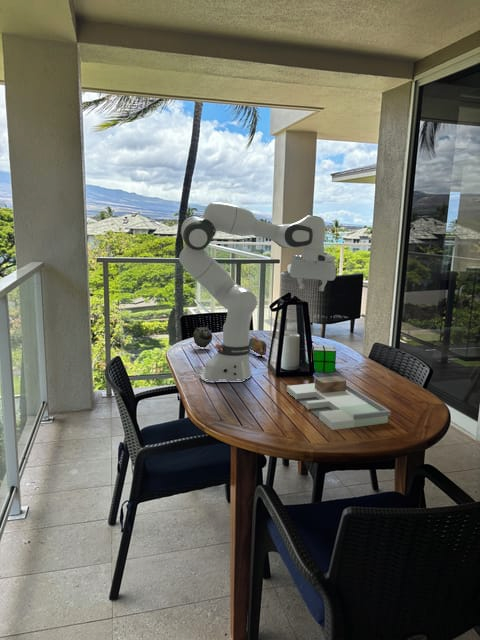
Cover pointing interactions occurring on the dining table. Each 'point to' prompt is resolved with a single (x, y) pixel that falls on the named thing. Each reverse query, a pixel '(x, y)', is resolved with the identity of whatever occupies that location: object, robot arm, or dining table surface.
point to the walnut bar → (330, 384)
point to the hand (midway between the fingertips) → (311, 289)
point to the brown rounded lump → (258, 346)
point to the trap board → (340, 406)
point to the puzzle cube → (324, 358)
